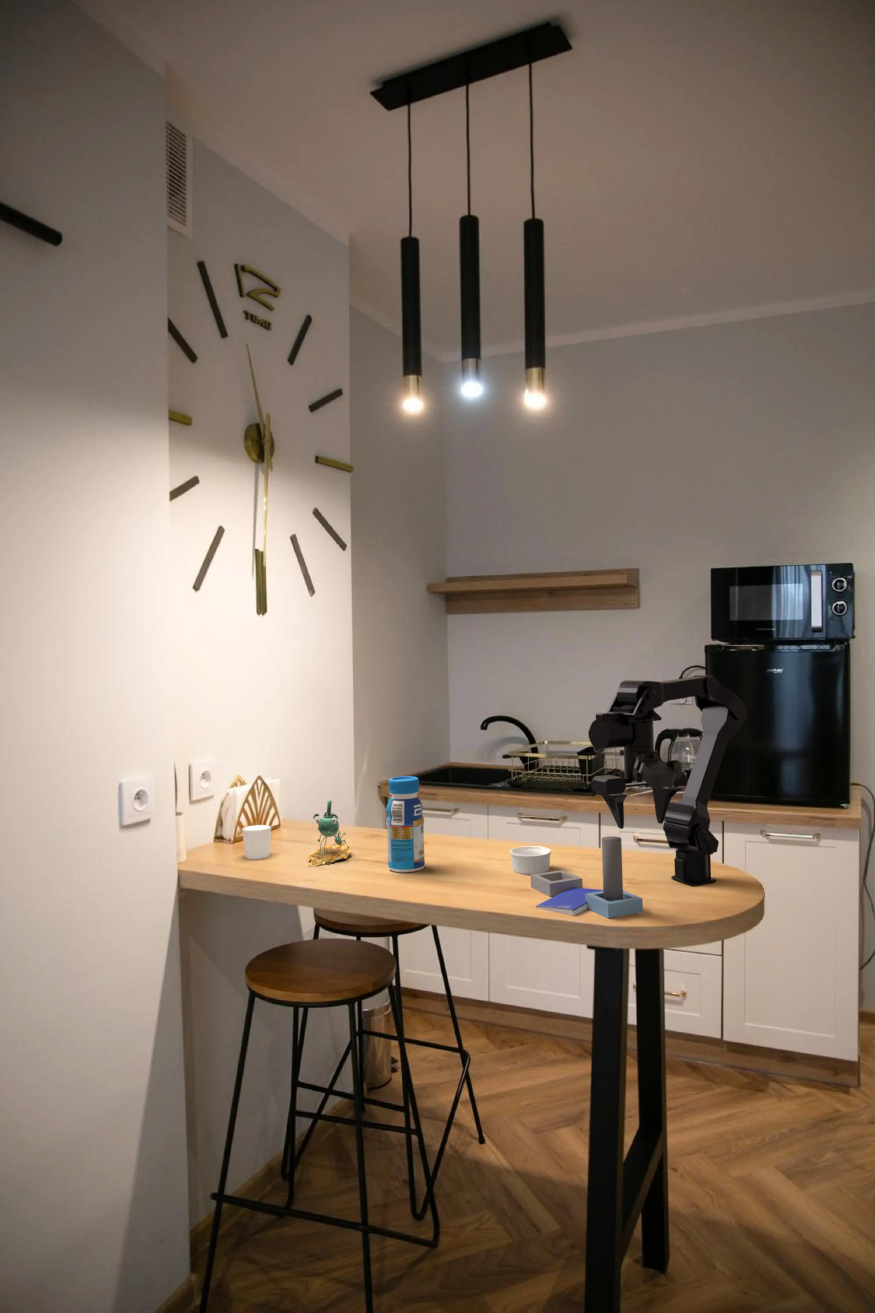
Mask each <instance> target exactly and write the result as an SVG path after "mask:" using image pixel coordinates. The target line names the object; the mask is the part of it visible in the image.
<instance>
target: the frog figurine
mask: <svg viewBox="0 0 875 1313" xmlns="http://www.w3.org/2000/svg"><path fill="white" fill-rule="evenodd" d="M326 805H327V806H326V812H323V817H319V816H320V814H319V813H315V814H314V815H313V819H315V823H316V824H317V825H318V826H317V829H318V832H319V833H320V836H319V838H318V839H317V842H318V843H320V845H319V848H317V849H316V850H314V851H312V852H310V853H308V857H307V860H308V861H310V862H309V863H308V864H307V865H308V867H313V868H314V867H318V866H325V865H331V864H332V863H334V862H337V861H340V860H345V859H347V858H348V857H349V855H350V854H351V853H352V849H351V847H350V846H349V843H347V842H346V839H343V837H344V836H346V835H347V834H346V832H343V834H342V833H341V832H340V830H339V829H340V824H339V820H338V819H339V816H337V814H335V813H333V812H332V800H330V799H329V800H327V804H326ZM322 836H323V837H324V838H323V839H322V840H321V837H322ZM331 837H333V839H334V842H335V843H334V844H333V845H331V846H330V845H327V844H326V843H327V840H328V838H331ZM324 840H325V841H324ZM323 841H324V846H323V847H322V843H323Z"/></svg>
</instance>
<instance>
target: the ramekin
mask: <svg viewBox="0 0 875 1313" xmlns="http://www.w3.org/2000/svg"><path fill="white" fill-rule="evenodd" d="M551 854H552V850H551V849H550V848H548V847H545V846H541V845H540V846H539V845H524V846H516V847H514V848H512V849H510V850H509V855H510V861H511V868H512V871H513V872H515V873H516V874H520V875H530V876H531V875H533V874H540V873H546V872H549V870H550V863H551Z"/></svg>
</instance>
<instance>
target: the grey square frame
mask: <svg viewBox="0 0 875 1313" xmlns="http://www.w3.org/2000/svg"><path fill="white" fill-rule="evenodd" d="M583 886H584V885H583V878H582V877H580V876H578V875H575V874H572V873H570V872H568V871H566V870H563V869H560V870H555V871H554V870H553V871H547V872H545V873H540V874H533V875H530V887H531V889H534V890H536V891H538V892H540V893H542V894H544V895H546V896H548V897H554V896H556V895H558V894H560V893H562V892H564V891H566V890H569V889H570V888H573V887H575V888H584V887H583Z"/></svg>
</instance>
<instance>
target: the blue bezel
mask: <svg viewBox="0 0 875 1313" xmlns="http://www.w3.org/2000/svg"><path fill="white" fill-rule="evenodd" d="M585 901H587V905H588V908H587V909H588V910H590V911H592V912H593V913H596V914H598V915H600V916H602V917H604V918H606V919H612V918H618V917H624V916H629V915H634V914H640V913H643V912H644V908H643V907H644V906H643V905H644V902H643V897H640V896H638V895H636V894H633V893H630V892H629V891H626V890H624V889H623V899H622V900H616V901H607V900H605V899H604V898H603V891H599V892H593V893H587V894H585ZM587 909H586V910H587Z"/></svg>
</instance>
